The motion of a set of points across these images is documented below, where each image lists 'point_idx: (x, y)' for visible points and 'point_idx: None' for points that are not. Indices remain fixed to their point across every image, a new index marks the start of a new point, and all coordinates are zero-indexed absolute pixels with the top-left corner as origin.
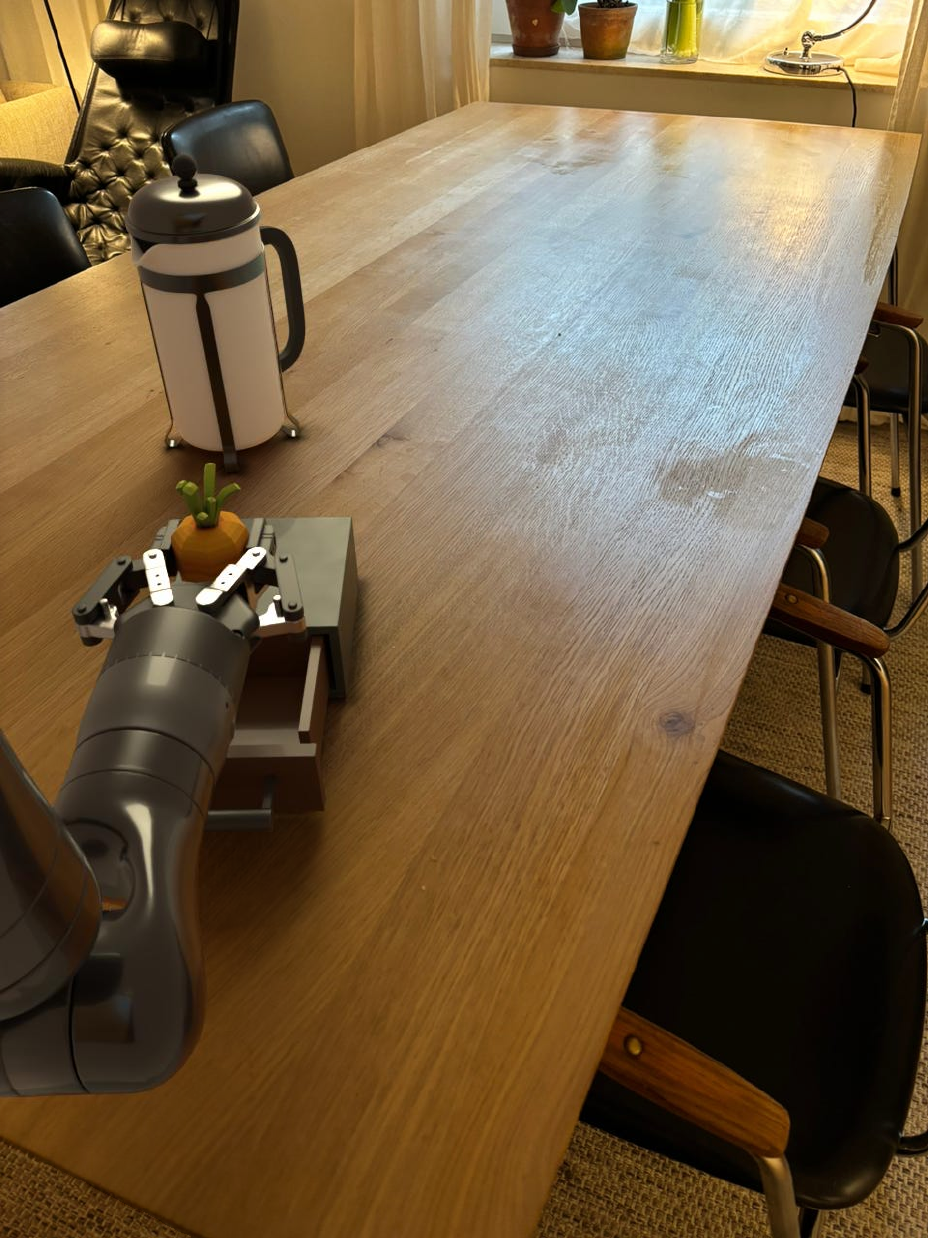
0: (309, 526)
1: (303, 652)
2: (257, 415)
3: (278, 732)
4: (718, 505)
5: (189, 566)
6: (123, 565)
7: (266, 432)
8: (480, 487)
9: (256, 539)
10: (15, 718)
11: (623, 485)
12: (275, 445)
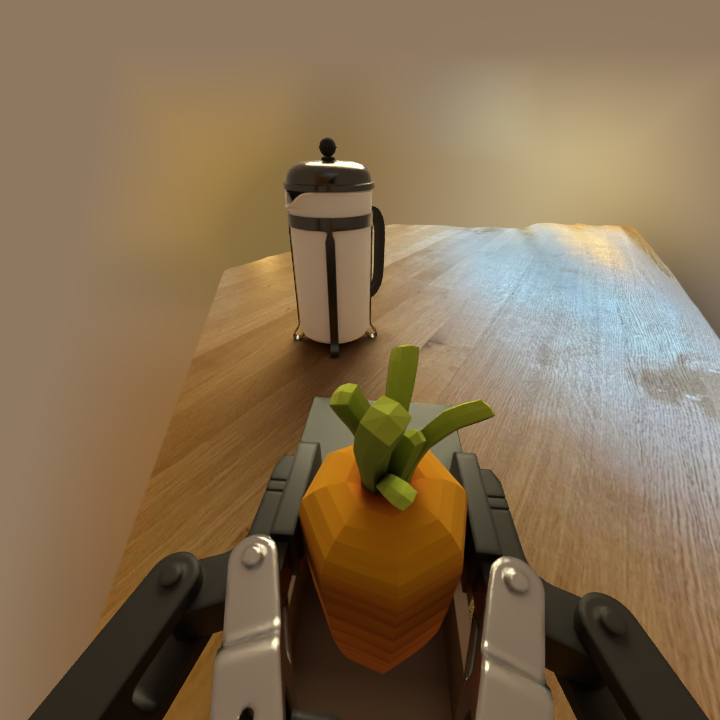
0: (416, 411)
1: None
2: (355, 321)
3: (407, 707)
4: (703, 406)
5: (339, 597)
6: (170, 598)
7: (358, 333)
8: (507, 379)
9: (489, 521)
10: (110, 604)
11: (614, 385)
12: (361, 342)
